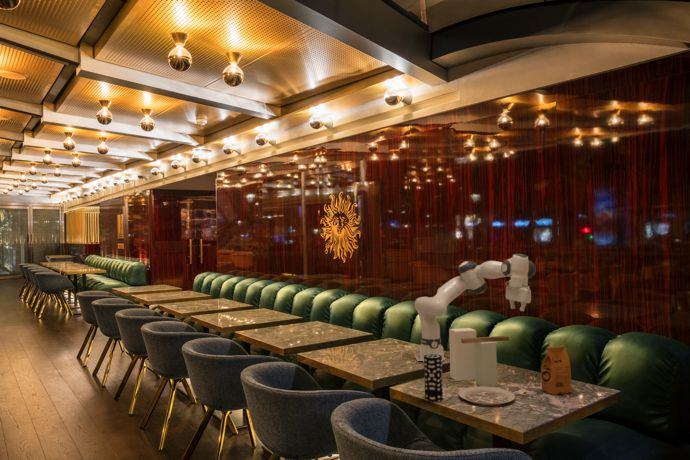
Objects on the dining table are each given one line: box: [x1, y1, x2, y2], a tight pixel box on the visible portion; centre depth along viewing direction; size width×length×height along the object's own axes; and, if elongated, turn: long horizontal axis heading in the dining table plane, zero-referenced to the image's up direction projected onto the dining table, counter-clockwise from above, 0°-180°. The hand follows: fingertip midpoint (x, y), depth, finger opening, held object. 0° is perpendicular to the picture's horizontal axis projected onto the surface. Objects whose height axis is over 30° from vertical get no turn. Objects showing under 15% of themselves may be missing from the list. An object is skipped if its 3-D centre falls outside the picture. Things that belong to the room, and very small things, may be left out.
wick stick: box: [461, 335, 510, 343], centre depth 254 cm, size 3×25×2 cm, turn 101°
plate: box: [458, 385, 516, 406], centre depth 232 cm, size 26×26×2 cm
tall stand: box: [448, 327, 477, 382], centre depth 266 cm, size 8×12×26 cm, turn 101°
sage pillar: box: [475, 341, 498, 387], centre depth 254 cm, size 8×8×22 cm
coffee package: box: [540, 344, 572, 396], centre depth 240 cm, size 10×12×22 cm
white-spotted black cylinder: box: [423, 354, 444, 403], centre depth 233 cm, size 8×8×20 cm
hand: (517, 309), depth 265 cm, fingers open, 8 cm apart
